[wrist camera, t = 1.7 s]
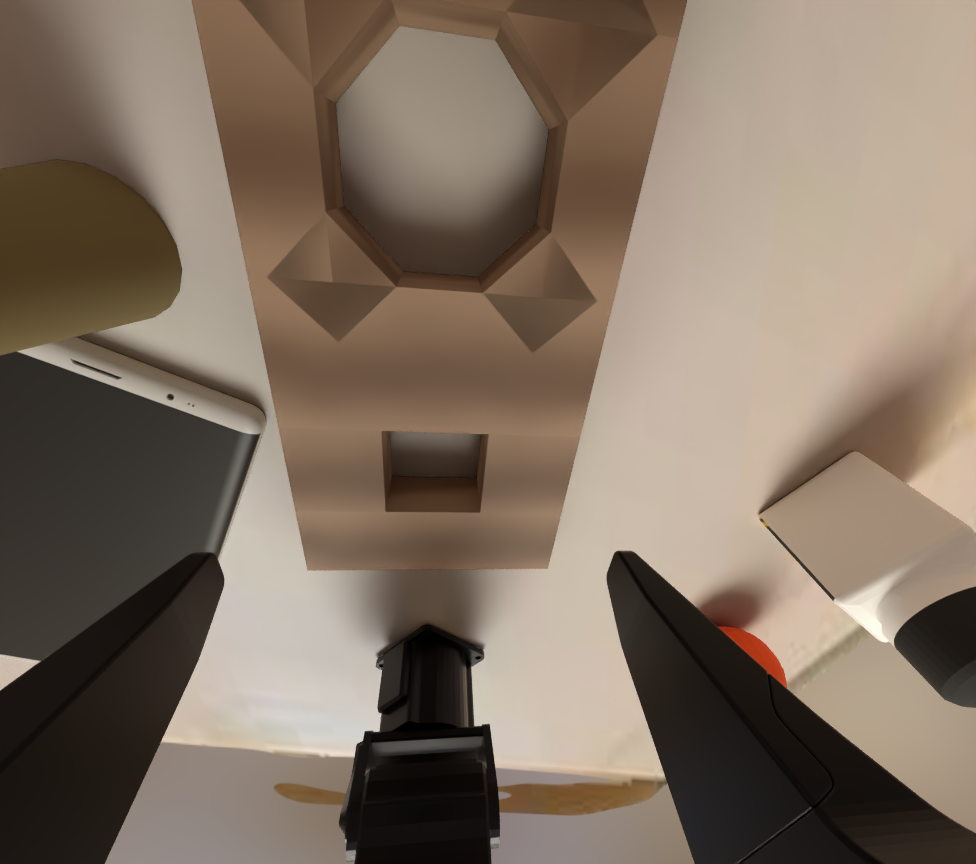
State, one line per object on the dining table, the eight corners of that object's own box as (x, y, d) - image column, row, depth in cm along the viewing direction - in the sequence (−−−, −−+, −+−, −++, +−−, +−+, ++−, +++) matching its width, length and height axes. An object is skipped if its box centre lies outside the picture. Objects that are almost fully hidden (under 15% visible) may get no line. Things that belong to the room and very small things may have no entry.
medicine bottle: (754, 514, 29) (923, 701, 18) (853, 447, 26) (1112, 620, 16) (800, 555, 31) (968, 736, 21) (893, 498, 29) (1135, 673, 19)
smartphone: (-24, 629, 29) (-49, 653, 28) (-51, 279, 17) (-97, 289, 16) (184, 666, 33) (172, 689, 32) (274, 406, 22) (262, 423, 20)
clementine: (769, 632, 37) (832, 721, 31) (702, 667, 39) (748, 756, 33) (727, 597, 34) (788, 690, 28) (656, 638, 36) (698, 731, 30)
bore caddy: (199, -201, 11) (129, -309, 9) (674, -106, 13) (729, -172, 11) (321, 531, 26) (307, 570, 23) (538, 532, 28) (547, 568, 25)
